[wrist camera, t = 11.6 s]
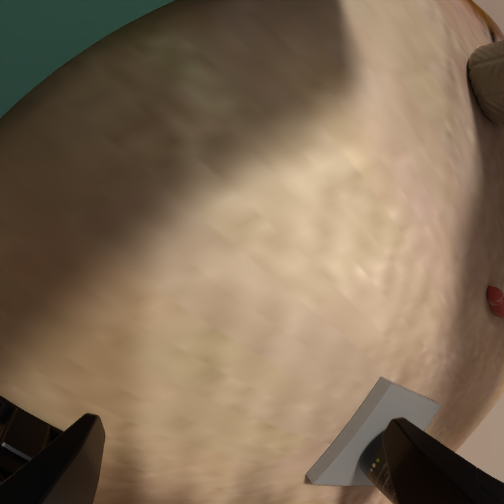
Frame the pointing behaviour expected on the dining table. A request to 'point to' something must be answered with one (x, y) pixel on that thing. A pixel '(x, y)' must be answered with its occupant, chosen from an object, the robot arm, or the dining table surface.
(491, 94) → the lamp
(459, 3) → the dining table surface
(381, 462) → the supplement bottle
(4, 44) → the teal foam block
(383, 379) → the grey flat square slab
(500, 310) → the pliers
